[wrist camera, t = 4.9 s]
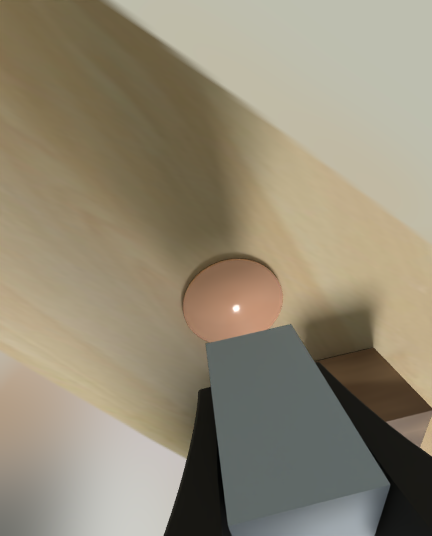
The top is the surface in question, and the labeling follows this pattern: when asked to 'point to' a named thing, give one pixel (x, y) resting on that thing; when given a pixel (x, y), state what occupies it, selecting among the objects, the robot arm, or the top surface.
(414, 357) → the top surface
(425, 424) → the rod housing
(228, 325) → the plate
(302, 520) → the block
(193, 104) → the top surface
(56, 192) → the top surface
